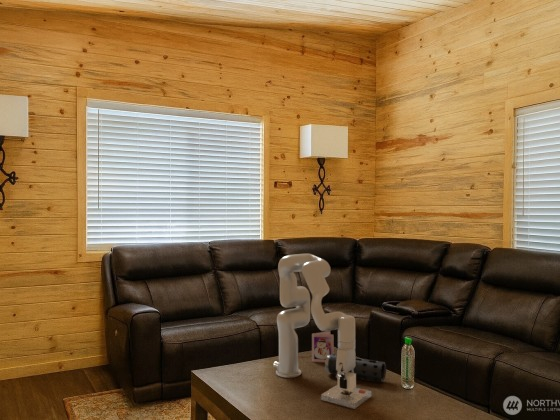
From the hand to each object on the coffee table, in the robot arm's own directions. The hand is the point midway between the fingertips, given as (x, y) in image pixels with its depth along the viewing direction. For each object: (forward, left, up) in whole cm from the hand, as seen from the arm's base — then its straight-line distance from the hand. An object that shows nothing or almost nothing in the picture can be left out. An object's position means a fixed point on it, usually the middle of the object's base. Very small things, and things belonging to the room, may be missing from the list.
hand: (346, 385), depth 217 cm
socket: (0, 0, -6) cm, 6 cm away
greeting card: (-34, +38, -6) cm, 51 cm away
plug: (0, 0, -3) cm, 3 cm away
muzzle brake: (-8, +24, -6) cm, 26 cm away
